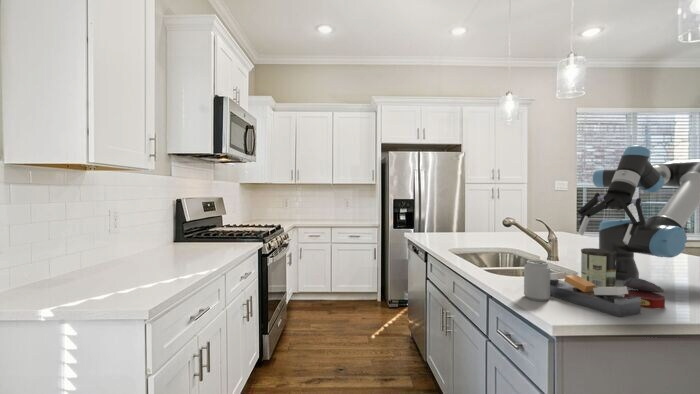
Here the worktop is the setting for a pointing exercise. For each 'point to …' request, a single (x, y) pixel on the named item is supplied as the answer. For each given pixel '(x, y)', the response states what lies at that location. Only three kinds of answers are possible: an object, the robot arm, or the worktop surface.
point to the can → (537, 280)
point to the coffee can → (599, 266)
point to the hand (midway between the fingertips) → (601, 238)
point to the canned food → (645, 292)
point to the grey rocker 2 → (610, 290)
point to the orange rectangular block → (579, 283)
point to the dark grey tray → (596, 299)
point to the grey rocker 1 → (557, 275)
